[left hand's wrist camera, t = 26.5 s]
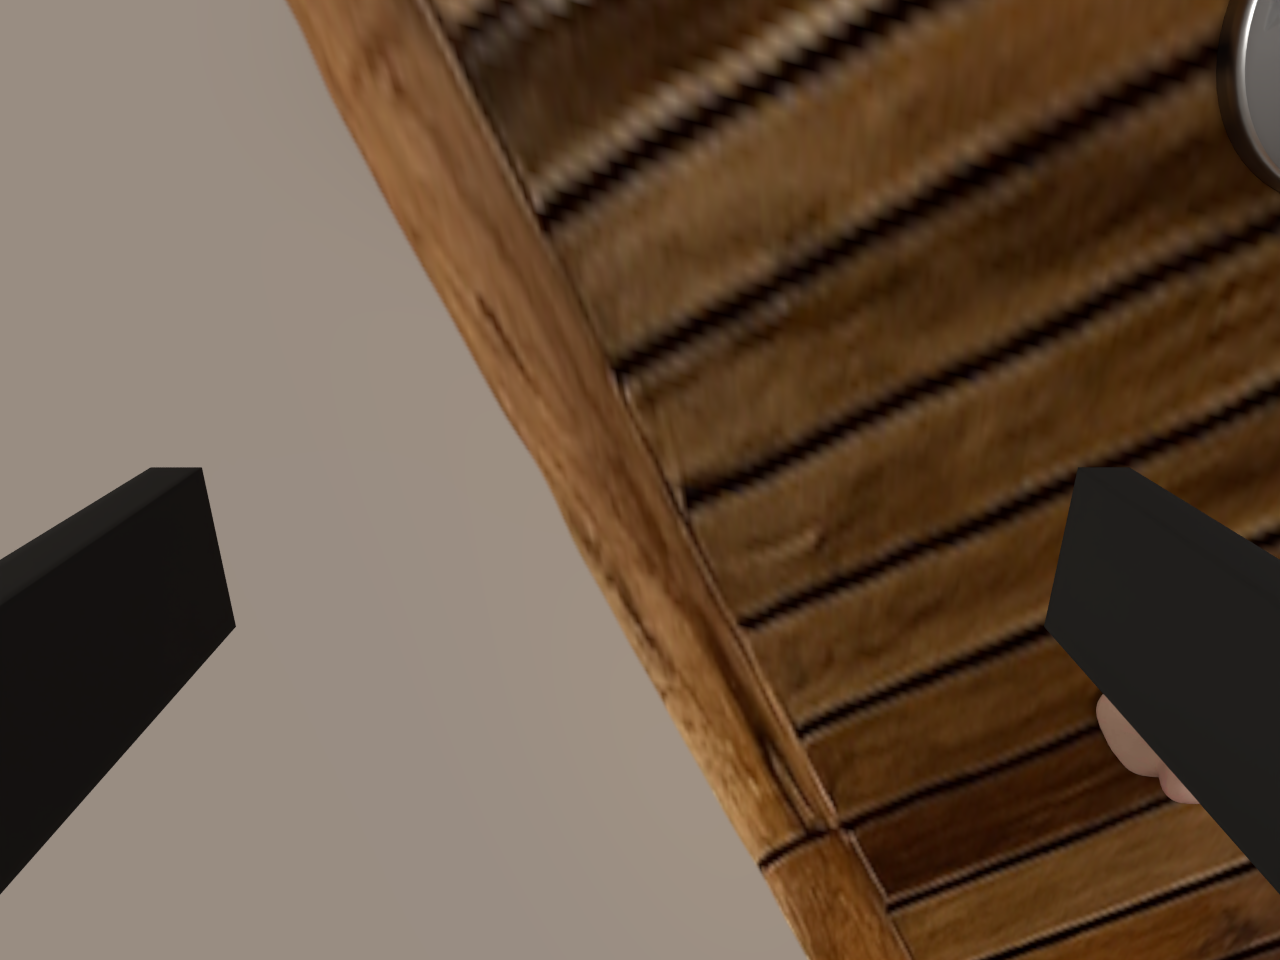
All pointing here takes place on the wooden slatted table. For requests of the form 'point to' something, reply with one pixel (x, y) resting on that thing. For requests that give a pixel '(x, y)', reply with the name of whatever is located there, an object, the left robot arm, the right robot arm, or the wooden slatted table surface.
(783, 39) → the wooden slatted table surface
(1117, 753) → the anatomical model
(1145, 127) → the wooden slatted table surface
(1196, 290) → the wooden slatted table surface
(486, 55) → the wooden slatted table surface
